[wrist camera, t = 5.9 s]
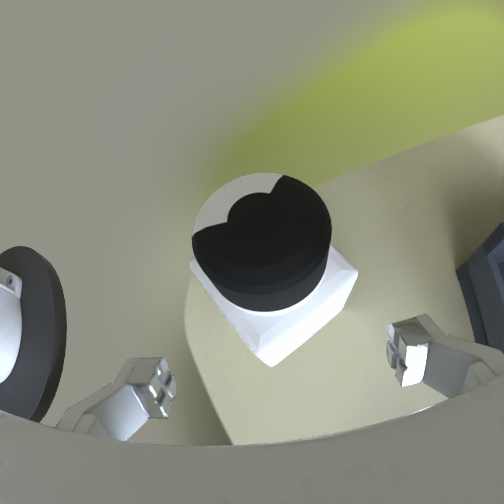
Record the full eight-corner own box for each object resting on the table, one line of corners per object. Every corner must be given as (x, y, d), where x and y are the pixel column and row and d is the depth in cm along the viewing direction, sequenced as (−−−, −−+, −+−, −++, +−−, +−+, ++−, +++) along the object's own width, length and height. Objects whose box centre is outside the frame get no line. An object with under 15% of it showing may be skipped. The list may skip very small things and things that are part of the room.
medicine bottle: (344, 308, 21) (382, 223, 11) (270, 369, 20) (238, 343, 10) (285, 245, 25) (269, 134, 14) (215, 298, 23) (147, 215, 13)
